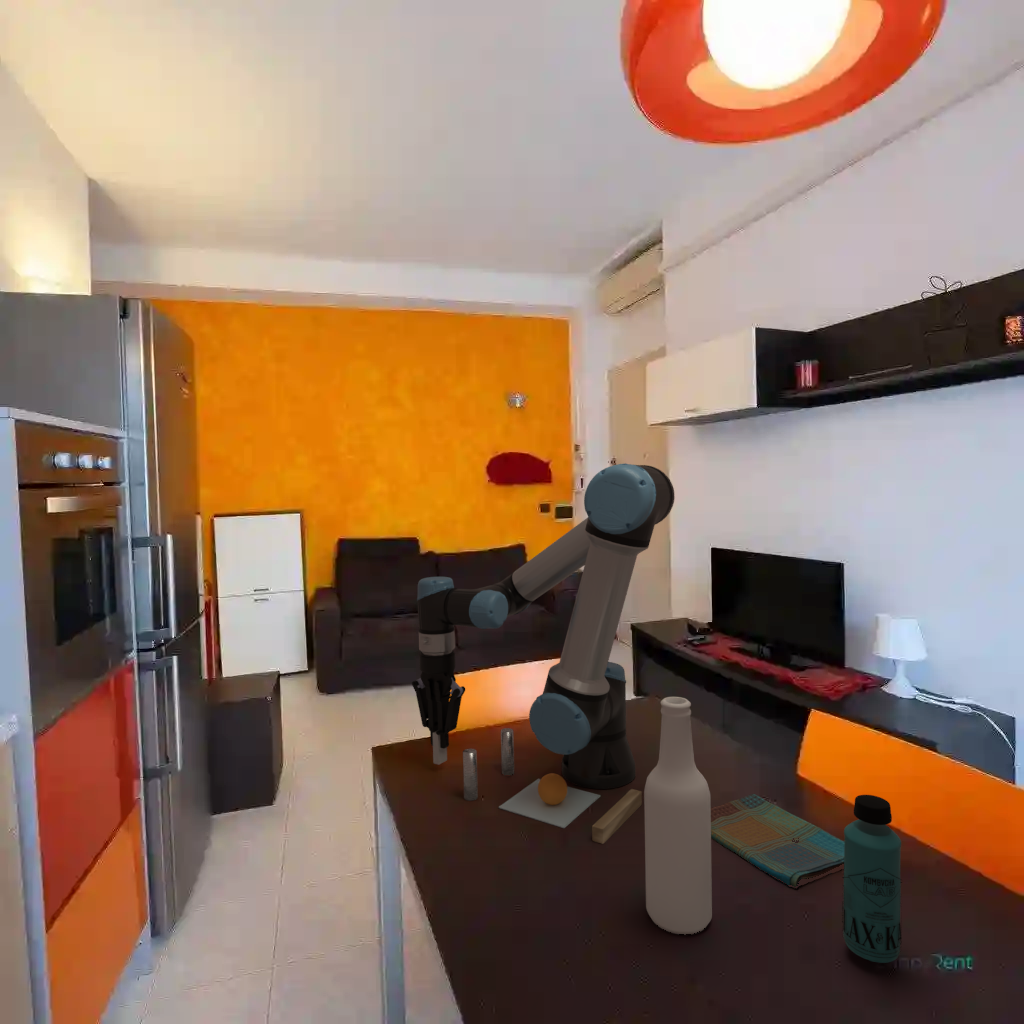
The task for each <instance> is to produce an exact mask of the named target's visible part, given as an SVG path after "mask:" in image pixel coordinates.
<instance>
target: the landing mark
mask: <svg viewBox="0 0 1024 1024" xmlns="http://www.w3.org/2000/svg"><path fill="white" fill-rule="evenodd" d="M541 779H542V778H537V779H536V780H534V781H533V782H532V783H530V784H529V785H527V786H526V787H524V788H523V789H521V791H519V792H518V793H516V794H515V795H513V796H512V797H510V798H509V799H508V800H506V801H505V802H503V803H502V804H500V805H499V806H498V809H500V810H503V811H506V812H510V813H514V814H516V815H519V816H523V817H526V818H529V819H532V820H535V821H539V822H542V823H545V824H547V825H552V826H555V827H559V828H562V829H565V828H566V827H567V826H569V825H570V824H571V823H572V822H574V820H576V819H577V818H579V817H578V816H580V815H581V814H582V813H584V811H586V810H587V809H588V808H589V807H590V806H592V804H594V803H595V802H596V801H597V800H598V799H599V798H601V794H597V793H593V792H589V791H585V790H582V789H578V788H575V787H571V786H568V785H567V795H566V797H565V799H564V800H563V801H562V802H561V803H559V804H556V805H550V804H547V803H545V802H544V801H543V800H542V799H541V798H540V796H539V793H538V785H539V782H540V780H541Z"/></svg>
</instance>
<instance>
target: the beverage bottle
mask: <svg viewBox="0 0 1024 1024" xmlns="http://www.w3.org/2000/svg"><path fill="white" fill-rule="evenodd" d="M853 815H854V817H855V818H857V820H853V821H852V822H851V823H849V824H847V825H846V826H845V827H844V829H843V836H844V841H845V842H844V869H843V876H842V877H841V878H842V879H843V886H842V887H841V888H842V889H843V894H842V895H841V897H842V901H841V902H842V903H841V904H842V905H841V906H842V907H841V910H842V912H841V916H842V918H841V923H842V924H843V925H842V927H841V929H842V930H841V931H842V938H843V939H844V943H845V945H846V946H847V948H848V949H849V950H850V951H851V952H853V954H855V955H857V956H858V957H860V958H862V959H864V960H868V961H870V962H875V963H879V964H881V963H883V964H885V963H886V964H887V963H891V962H894V961H896V959H898V957H899V956H900V954H901V951H902V946H901V945H902V942H903V941H902V938H903V937H902V935H903V934H902V932H903V931H902V928H903V925H902V924H901V903H902V893H901V891H902V890H901V888H902V883H903V882H902V879H901V849H902V840H901V839H900V837H899V836H898V834H897V833H896V832H895V831H894V830H893V829H891V827H890V826H888V824H891V822H892V820H893V816H892V809H891V804H890V802H889V801H888V800H886V799H884V798H883V797H879V796H876V795H872V794H860V795H857V796H856V797H855V798H854V807H853Z"/></svg>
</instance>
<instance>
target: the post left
mask: <svg viewBox="0 0 1024 1024" xmlns="http://www.w3.org/2000/svg"><path fill="white" fill-rule="evenodd" d="M477 753H478V751H477V749H475V748H467V749H464V750H463V751H462V762H463V763H462V765H463V766H462V767H463V799H464V800H465V801H475V800H477V799H478V794H479V793H478V792H479V791H478V762H477V761H478V759H477V758H478V757H477Z"/></svg>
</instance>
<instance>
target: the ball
mask: <svg viewBox="0 0 1024 1024" xmlns="http://www.w3.org/2000/svg"><path fill="white" fill-rule="evenodd" d="M540 779H541V780H540V782H539V785H538V793H539V796H540V798H541V799H542V800H543V801H544V802H545V803H547V804H550V805H556V804H559V803H561V802H562V801H563V800H564V799H565V797H566V795H567V786H568V785H567V782H566V779H565V778H564V777H563V776H561V775H560V774H557V773H553V772H551V773H547V774H545V775H544V776H542V777H541V778H540Z"/></svg>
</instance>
